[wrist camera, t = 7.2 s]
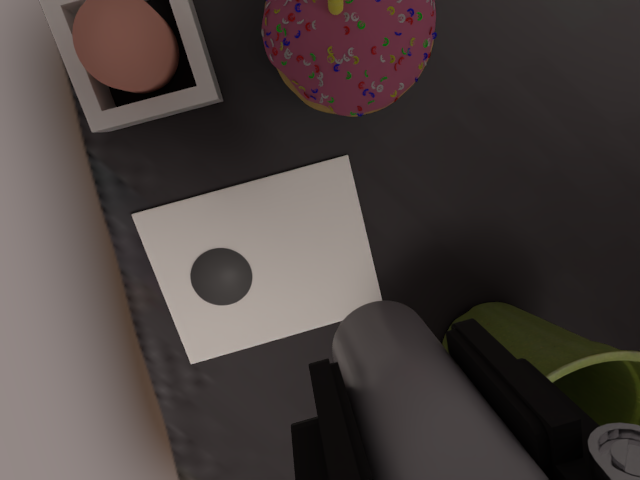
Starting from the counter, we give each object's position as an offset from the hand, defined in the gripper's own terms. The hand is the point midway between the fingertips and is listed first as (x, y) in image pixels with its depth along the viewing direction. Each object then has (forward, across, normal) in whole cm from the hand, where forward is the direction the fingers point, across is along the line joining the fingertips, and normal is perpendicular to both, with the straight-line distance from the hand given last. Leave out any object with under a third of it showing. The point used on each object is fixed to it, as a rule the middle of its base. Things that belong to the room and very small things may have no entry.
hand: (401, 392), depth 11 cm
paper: (+18, +4, +2) cm, 18 cm away
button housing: (+18, +7, -12) cm, 23 cm away
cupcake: (+18, -4, -11) cm, 21 cm away
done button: (+16, +7, -13) cm, 22 cm away
